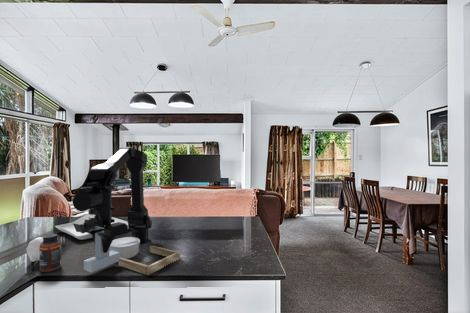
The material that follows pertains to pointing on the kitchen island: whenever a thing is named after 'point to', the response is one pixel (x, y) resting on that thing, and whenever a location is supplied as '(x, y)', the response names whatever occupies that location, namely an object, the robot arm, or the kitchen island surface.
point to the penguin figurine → (34, 249)
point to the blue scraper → (100, 256)
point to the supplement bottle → (50, 253)
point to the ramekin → (125, 246)
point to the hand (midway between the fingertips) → (102, 251)
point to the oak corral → (146, 269)
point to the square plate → (71, 230)
